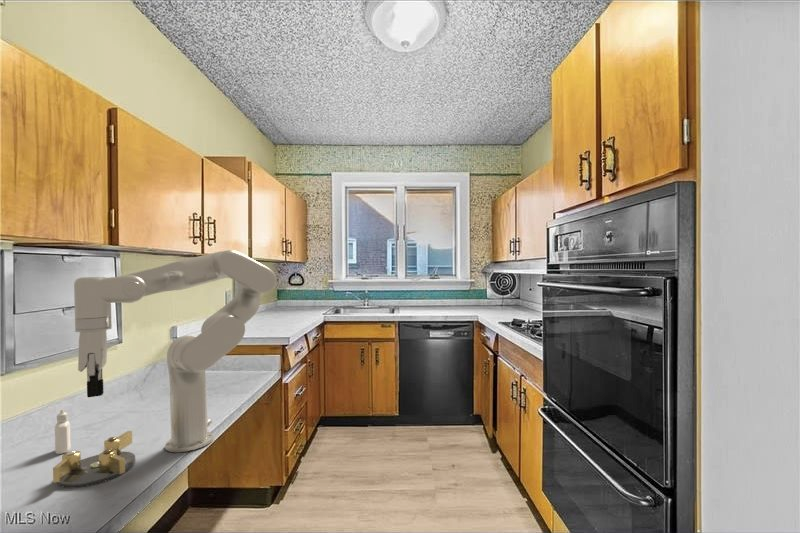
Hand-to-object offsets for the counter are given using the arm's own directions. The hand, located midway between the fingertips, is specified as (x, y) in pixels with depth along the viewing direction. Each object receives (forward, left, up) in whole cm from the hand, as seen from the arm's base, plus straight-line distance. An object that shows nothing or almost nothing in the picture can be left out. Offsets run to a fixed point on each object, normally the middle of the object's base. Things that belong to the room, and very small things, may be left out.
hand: (95, 395), depth 104 cm
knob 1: (+5, -4, -18) cm, 19 cm away
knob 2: (-8, 0, -18) cm, 19 cm away
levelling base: (0, 0, -19) cm, 19 cm away
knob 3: (+4, +7, -18) cm, 19 cm away
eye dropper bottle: (-13, -20, -20) cm, 31 cm away
